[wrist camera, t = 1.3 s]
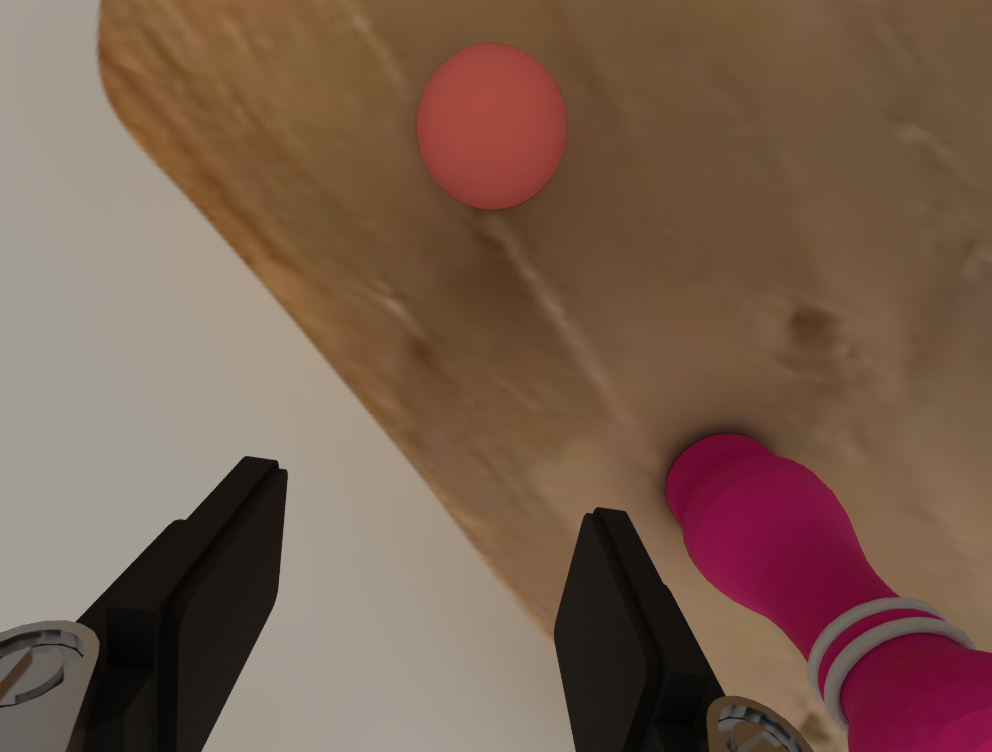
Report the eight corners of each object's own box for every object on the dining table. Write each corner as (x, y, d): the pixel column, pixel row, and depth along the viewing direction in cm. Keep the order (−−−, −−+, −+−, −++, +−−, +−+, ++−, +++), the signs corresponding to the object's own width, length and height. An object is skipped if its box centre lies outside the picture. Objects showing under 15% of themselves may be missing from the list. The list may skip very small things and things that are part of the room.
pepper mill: (632, 510, 30) (908, 1020, 11) (701, 402, 28) (1169, 790, 9) (735, 556, 32) (1142, 1085, 12) (807, 455, 30) (1411, 893, 11)
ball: (567, 83, 24) (599, 41, 18) (539, 221, 25) (559, 224, 20) (433, 52, 23) (421, 0, 17) (414, 196, 25) (397, 191, 19)
